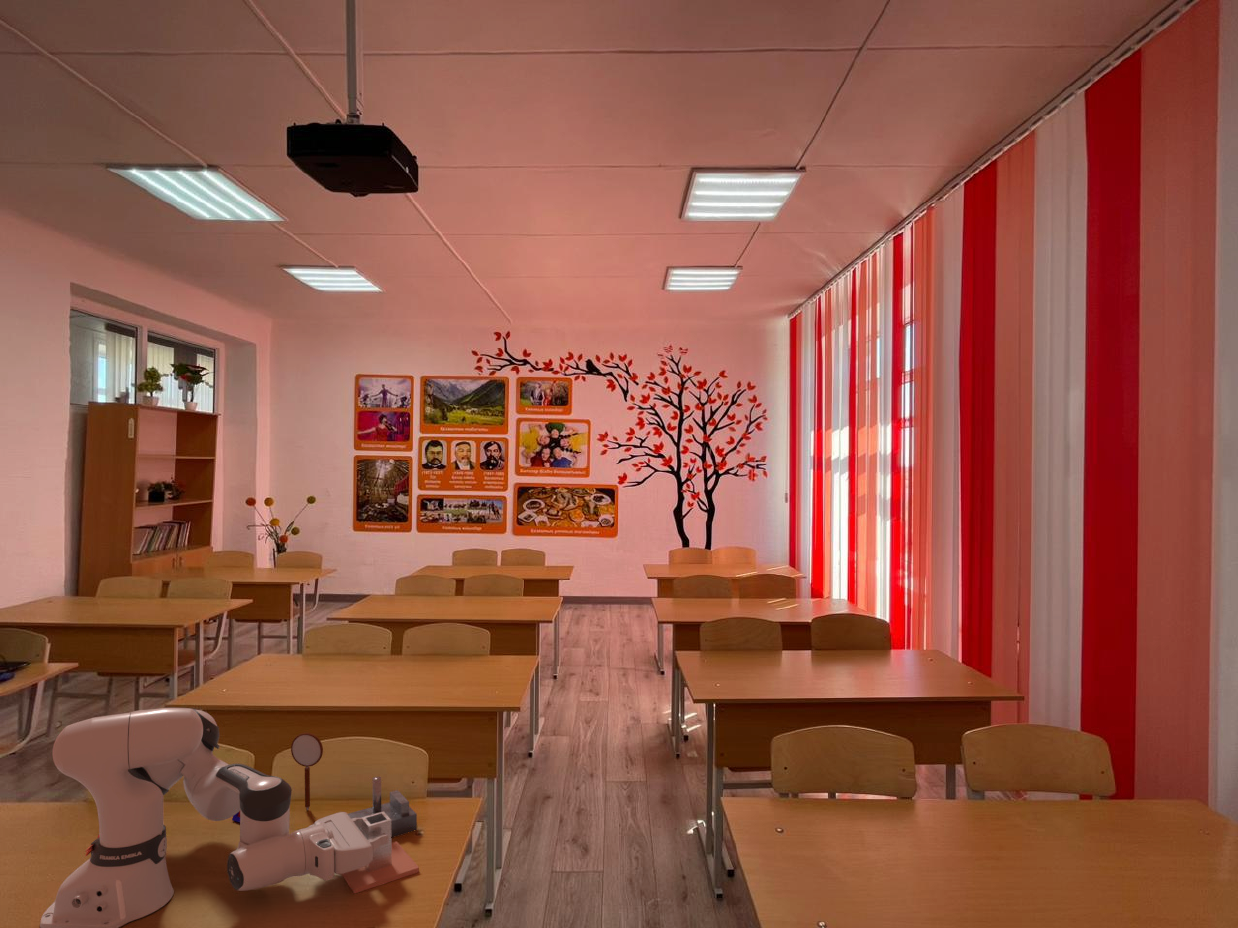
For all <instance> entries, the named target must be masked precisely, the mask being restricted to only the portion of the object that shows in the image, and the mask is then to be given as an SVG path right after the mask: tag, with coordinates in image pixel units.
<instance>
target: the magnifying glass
mask: <svg viewBox="0 0 1238 928" xmlns="http://www.w3.org/2000/svg"><path fill="white" fill-rule="evenodd" d="M290 754H291V756H292V758H293V760H294V761H295V762H296V764H298V765H300V766H302V767H305V768H304V808H305V809H306V811H309V810H310V806H311V786H310V785H311V784H310V783H311V781H310V780H311V779H310V778H311V774H310V773H311V771H310V770H311V767H313V766H314V765H317V764H318V763H319V762H320V760H321V759H322V757H323V754H324V747H323V743H322V741H321V740H320V738H319V737H318V736H317V735H315V734H313V733H310V732H303V733H300V734H297V735H296V737H294V739H293V741H292V742H291V747H290Z"/></svg>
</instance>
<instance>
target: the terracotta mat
mask: <svg viewBox="0 0 1238 928" xmlns="http://www.w3.org/2000/svg"><path fill="white" fill-rule="evenodd" d="M419 872H420V867H419V866H418V864H417V863H416V862H415V861H414V859H412V857H411V856H410V855H409V854H408V853H407V851H406V850H405V849H404V848H403V847H402V846H401V844H400V843H399V842H398V841H392V865H390V866H387V867H384V868H381V869H378V870H375V871H372V872H368V870H367V869H366V868H365V866H364V867H362V868H359V869H356V870H353V871H350V872H347V873H343V874H341V876H342V877H343V879H344V880H345V882H346V883H347V885H348V887H349V888H350V890H351V891H352V893H353V895H354V894H358V893H360V892H361V893H362V892H363V891H367V890H370V889H373V888H376V887H378V886H382V885H384V884H388V883H390V882H394V881H396V880H399V879H403V878H405V877H409V876H411V875H415V874H418V873H419Z"/></svg>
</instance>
